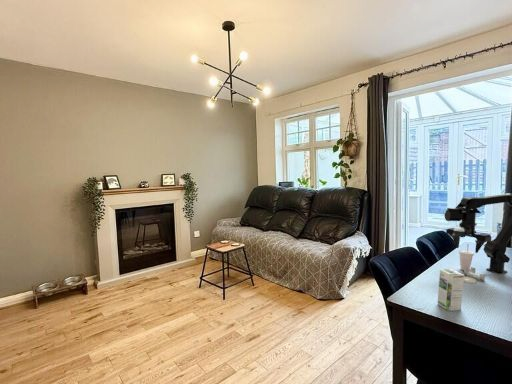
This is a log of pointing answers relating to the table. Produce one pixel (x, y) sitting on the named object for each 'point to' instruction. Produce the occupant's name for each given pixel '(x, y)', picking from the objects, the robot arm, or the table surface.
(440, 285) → the syrup box
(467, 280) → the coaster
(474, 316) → the table surface
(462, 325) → the table surface
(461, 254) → the smoothie
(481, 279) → the steel rail
